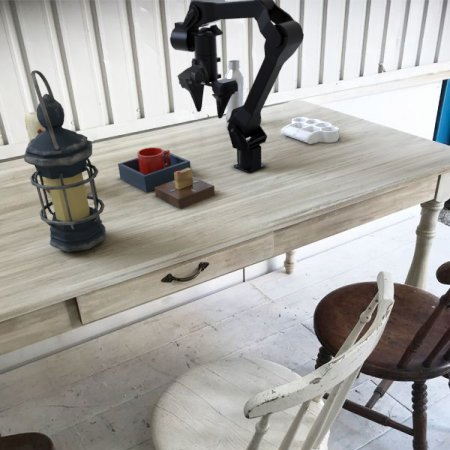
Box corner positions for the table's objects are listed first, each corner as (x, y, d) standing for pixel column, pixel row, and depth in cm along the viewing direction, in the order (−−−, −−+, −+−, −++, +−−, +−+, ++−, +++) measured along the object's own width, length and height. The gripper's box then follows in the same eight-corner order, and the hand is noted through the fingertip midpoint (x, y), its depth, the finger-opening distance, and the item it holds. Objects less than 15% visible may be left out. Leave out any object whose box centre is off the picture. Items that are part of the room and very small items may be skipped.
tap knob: (189, 182, 131) (188, 166, 128) (193, 184, 130) (191, 168, 127) (175, 188, 128) (173, 171, 126) (178, 189, 128) (177, 173, 125)
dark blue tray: (191, 176, 141) (190, 160, 138) (146, 192, 133) (144, 176, 131) (164, 164, 149) (162, 149, 146) (120, 179, 141) (117, 163, 139)
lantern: (111, 255, 108) (77, 76, 88) (46, 264, 106) (-4, 83, 86) (110, 224, 119) (79, 59, 99) (50, 231, 118) (7, 65, 97)
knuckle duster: (274, 134, 166) (307, 124, 173) (314, 148, 154) (348, 137, 161) (274, 123, 164) (307, 114, 171) (315, 137, 152) (349, 126, 159)
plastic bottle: (246, 128, 172) (245, 63, 160) (225, 129, 172) (223, 63, 160) (246, 122, 177) (245, 58, 165) (226, 123, 177) (223, 59, 166)
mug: (150, 182, 136) (147, 158, 132) (135, 175, 140) (132, 152, 137) (178, 172, 141) (176, 149, 137) (163, 166, 145) (161, 143, 141)
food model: (35, 189, 138) (15, 111, 126) (58, 181, 141) (41, 105, 129) (51, 200, 131) (31, 120, 120) (75, 192, 135) (58, 113, 123)
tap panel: (214, 195, 130) (214, 185, 129) (179, 209, 125) (178, 198, 123) (190, 183, 137) (189, 174, 135) (155, 196, 131) (154, 186, 129)
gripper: (160, 54, 138) (166, 114, 147) (204, 64, 126) (208, 128, 135) (193, 47, 143) (197, 106, 152) (238, 56, 132) (240, 119, 141)
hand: (209, 114), depth 145 cm, fingers open, 9 cm apart
